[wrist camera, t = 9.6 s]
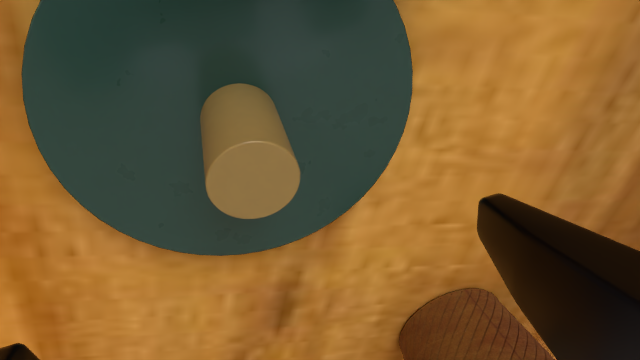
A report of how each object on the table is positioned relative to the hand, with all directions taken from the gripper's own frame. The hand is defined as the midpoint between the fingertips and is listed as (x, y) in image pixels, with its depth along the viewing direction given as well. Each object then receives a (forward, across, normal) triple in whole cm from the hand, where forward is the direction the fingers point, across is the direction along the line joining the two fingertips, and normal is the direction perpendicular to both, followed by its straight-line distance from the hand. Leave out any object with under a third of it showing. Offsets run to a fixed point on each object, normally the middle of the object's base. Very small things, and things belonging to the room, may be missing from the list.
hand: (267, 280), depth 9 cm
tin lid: (+7, 0, 0) cm, 7 cm away
